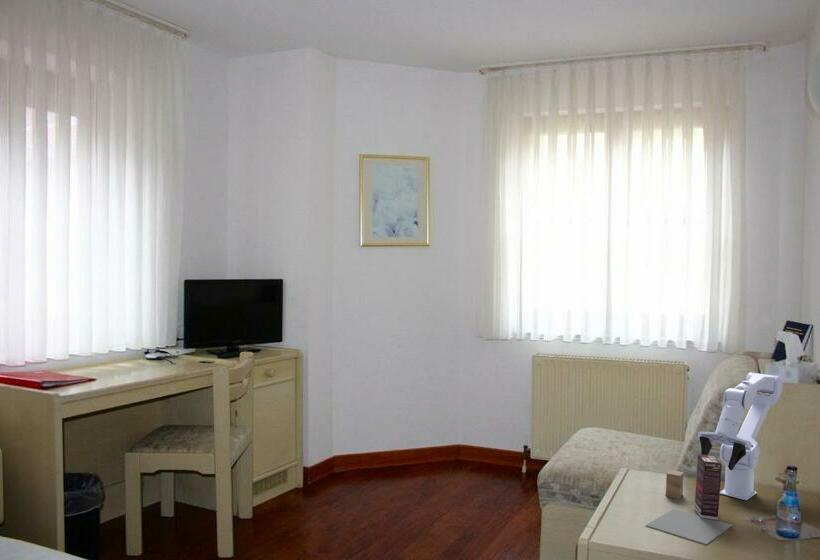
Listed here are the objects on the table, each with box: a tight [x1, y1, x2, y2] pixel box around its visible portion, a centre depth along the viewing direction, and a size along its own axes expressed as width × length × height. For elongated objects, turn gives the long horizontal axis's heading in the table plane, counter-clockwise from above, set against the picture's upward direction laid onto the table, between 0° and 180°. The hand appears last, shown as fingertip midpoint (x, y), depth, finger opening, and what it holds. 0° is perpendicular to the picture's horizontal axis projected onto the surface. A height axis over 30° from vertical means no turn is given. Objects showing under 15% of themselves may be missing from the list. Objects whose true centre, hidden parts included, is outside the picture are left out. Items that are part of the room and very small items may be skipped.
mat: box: [645, 508, 733, 546], centre depth 184 cm, size 18×16×1 cm
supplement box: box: [694, 454, 723, 521], centre depth 192 cm, size 9×5×16 cm, turn 169°
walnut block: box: [665, 469, 684, 500], centre depth 208 cm, size 4×4×7 cm
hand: (716, 465), depth 196 cm, fingers open, 7 cm apart
